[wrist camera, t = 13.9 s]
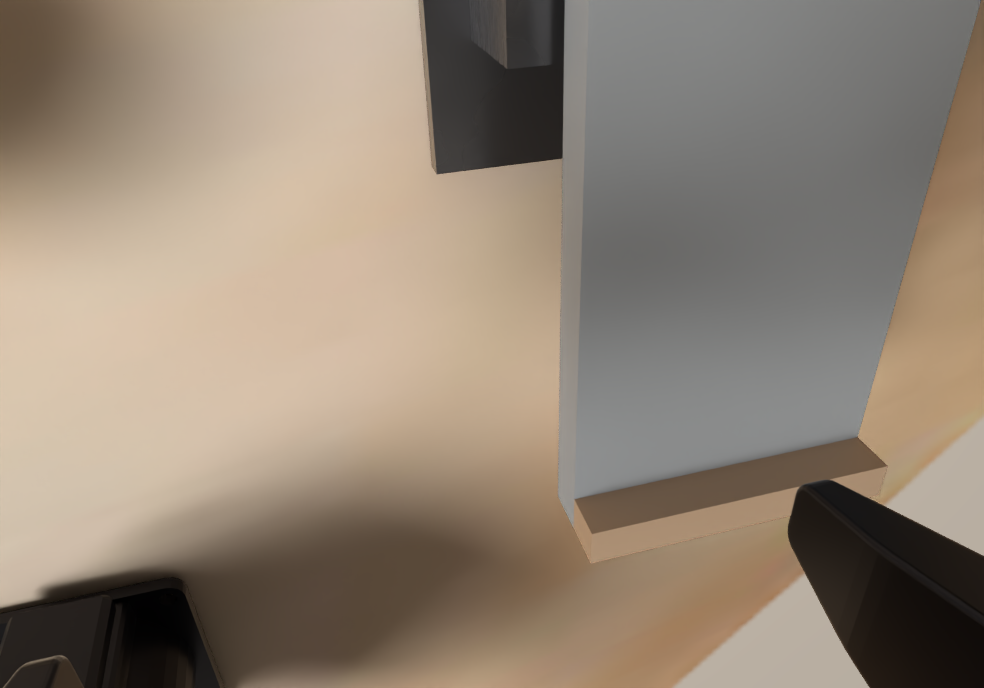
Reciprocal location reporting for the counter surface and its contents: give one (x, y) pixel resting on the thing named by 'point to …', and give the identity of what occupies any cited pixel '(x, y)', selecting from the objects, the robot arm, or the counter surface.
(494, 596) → the counter surface
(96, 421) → the counter surface
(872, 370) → the beam
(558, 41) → the pivot stand
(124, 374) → the counter surface
